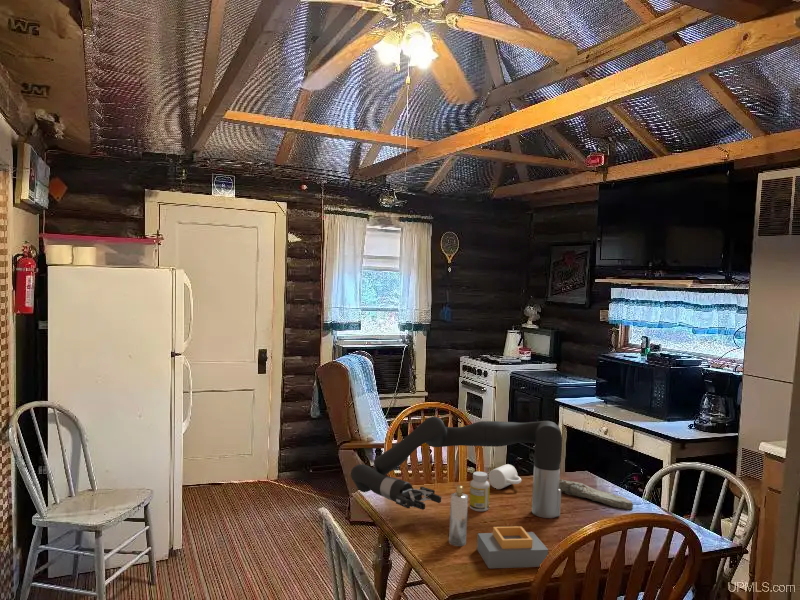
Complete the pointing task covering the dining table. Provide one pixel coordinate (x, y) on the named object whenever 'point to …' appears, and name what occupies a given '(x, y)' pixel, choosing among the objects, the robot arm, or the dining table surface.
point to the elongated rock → (594, 494)
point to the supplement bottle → (479, 492)
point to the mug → (503, 476)
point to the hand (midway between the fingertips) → (432, 503)
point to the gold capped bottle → (458, 517)
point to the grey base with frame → (511, 548)
